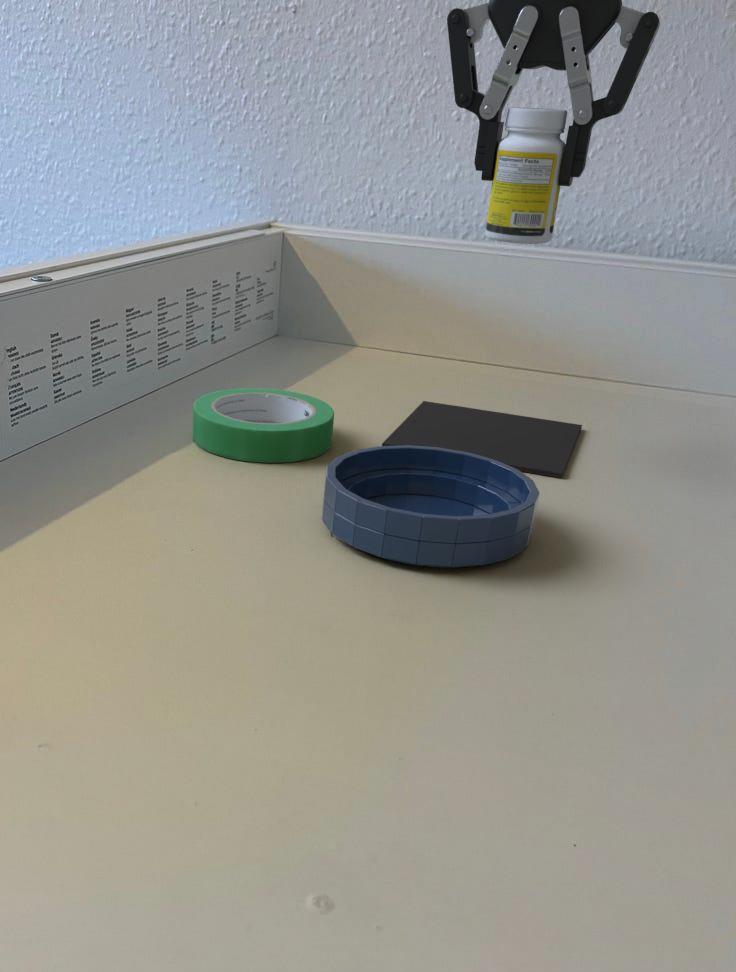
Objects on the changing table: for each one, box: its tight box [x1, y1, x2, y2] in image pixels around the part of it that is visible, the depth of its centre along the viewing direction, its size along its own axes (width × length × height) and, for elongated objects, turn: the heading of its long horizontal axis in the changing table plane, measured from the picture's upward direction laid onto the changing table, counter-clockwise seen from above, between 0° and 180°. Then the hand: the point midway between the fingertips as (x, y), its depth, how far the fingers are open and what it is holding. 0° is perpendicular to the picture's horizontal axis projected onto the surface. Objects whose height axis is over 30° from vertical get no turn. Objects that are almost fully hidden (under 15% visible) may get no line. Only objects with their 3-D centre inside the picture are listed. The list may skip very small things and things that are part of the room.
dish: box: [321, 445, 540, 569], centre depth 63 cm, size 13×13×4 cm
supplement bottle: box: [485, 106, 568, 245], centre depth 70 cm, size 5×5×8 cm
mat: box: [381, 400, 583, 479], centre depth 82 cm, size 14×14×1 cm
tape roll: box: [192, 387, 335, 464], centre depth 78 cm, size 11×11×3 cm
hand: (526, 181), depth 70 cm, fingers closed on supplement bottle, 4 cm apart
